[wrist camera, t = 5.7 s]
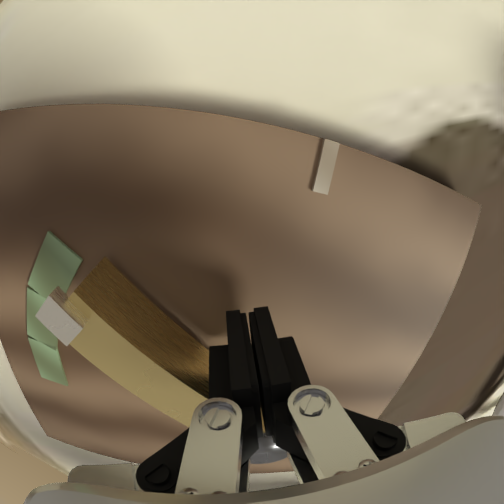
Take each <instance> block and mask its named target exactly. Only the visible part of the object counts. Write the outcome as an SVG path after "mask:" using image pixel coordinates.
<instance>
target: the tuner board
mask: <svg viewBox="0 0 504 504" xmlns="http://www.w3.org/2000/svg"><path fill="white" fill-rule="evenodd" d="M481 207H482V205H480V204H479V203H477V202H475V201H473V200H471V199H470V198H468V197H466V196H464V195H462V194H460V193H458V192H456V191H454V190H452V189H450V188H448V187H446V186H444V185H442V184H440V183H438V182H436V181H434V180H432V179H429V178H427V177H425V176H423V175H421V174H418V173H416V172H414V171H412V170H409V169H407V168H404V167H402V166H400V165H397V164H395V163H392V162H390V161H387V160H385V159H382V158H379V157H377V156H374V155H371V154H368V153H366V152H363V151H360V150H357V149H354V148H351V147H348V146H345V145H342V144H340V143H338V142H335V141H331V140H328V139H323V138H320V137H316V136H313V135H309V134H305V133H302V132H298V131H294V130H290V129H286V128H282V127H278V126H274V125H270V124H265V123H261V122H256V121H251V120H246V119H241V118H236V117H230V116H225V115H219V114H213V113H206V112H199V111H192V110H184V109H175V108H166V107H154V106H141V105H122V104H68V105H49V106H37V107H27V108H18V109H11V110H4V111H0V339H1V342H2V345H3V348H4V350H5V353H6V356H7V358H8V361H9V363H10V365H11V368H12V370H13V372H14V375H15V377H16V379H17V381H18V383H19V386H20V388H21V390H22V392H23V394H24V396H25V398H26V400H27V402H28V403H29V405H30V407H31V409H32V411H33V413H34V414H35V416H36V418H37V420H38V421H39V423H40V425H41V426H42V428H43V430H44V431H45V433H46V434H47V436H49V437H52V438H54V439H57V440H59V441H62V442H65V443H67V444H70V445H73V446H76V447H79V448H82V449H85V450H88V451H91V452H95V453H98V454H102V455H105V456H109V457H113V458H117V459H121V460H125V461H130V462H134V463H139V464H141V463H142V462H143V461H144V460H146V459H147V458H149V457H150V456H152V455H153V454H154V453H156V452H157V451H159V450H160V449H161V448H163V447H164V446H165V445H167V444H168V443H169V442H171V441H172V440H174V439H175V438H176V437H177V436H179V435H180V434H181V433H183V432H184V431H185V430H187V429H188V428H189V427H187V426H185V425H184V424H182V423H180V422H178V421H176V420H175V419H173V418H171V417H169V416H168V415H166V414H164V413H163V412H161V411H159V410H158V409H156V408H154V407H153V406H151V405H150V404H148V403H146V402H145V401H143V400H142V399H140V398H139V397H137V396H136V395H134V394H133V393H131V392H130V391H128V390H127V389H125V388H124V387H123V386H121V385H120V384H118V383H117V382H116V381H114V380H113V379H112V378H110V377H109V376H108V375H106V374H105V373H104V372H102V371H101V370H100V369H98V368H97V367H96V366H95V365H93V364H92V363H91V362H90V361H89V360H87V359H86V358H85V357H84V356H82V355H81V354H80V353H79V352H78V351H77V350H75V349H74V348H73V347H72V346H71V345H70V344H69V345H68V346H66V345H65V344H63V343H62V342H61V341H60V340H59V339H58V338H57V337H56V336H55V335H54V334H53V333H52V332H51V331H50V330H48V329H47V328H46V327H45V326H44V325H43V324H42V323H41V322H40V321H39V320H38V319H37V317H36V316H35V315H36V314H37V312H38V311H39V309H40V308H41V306H42V305H43V303H44V302H45V300H46V299H47V297H48V296H49V295H50V294H51V293H52V291H53V290H54V289H55V288H56V287H57V286H59V287H60V289H61V290H62V291H63V292H64V293H65V294H66V295H67V296H68V297H70V296H71V294H72V293H73V292H74V291H75V289H76V288H77V287H78V286H79V285H80V284H81V282H82V281H83V280H84V279H85V278H86V277H87V276H88V274H89V273H90V272H91V271H92V270H93V269H94V268H95V267H96V266H97V264H98V263H99V262H100V261H101V260H102V259H103V258H104V257H105V256H106V257H107V258H108V259H109V261H110V262H111V263H112V264H113V265H114V266H115V267H116V268H117V269H118V270H119V271H120V272H121V273H122V274H123V275H124V276H125V277H126V278H127V279H128V280H129V281H130V282H131V283H132V284H134V285H135V286H136V287H137V288H138V289H139V290H140V291H141V292H142V293H143V294H144V295H145V296H146V297H147V298H148V299H149V300H150V301H152V302H153V303H154V304H155V305H156V306H157V307H158V308H159V309H160V310H162V311H163V312H164V313H165V314H166V315H167V316H168V317H169V318H171V319H172V320H173V321H174V322H175V323H176V324H177V325H179V326H180V327H181V328H182V329H183V330H185V331H186V332H187V333H188V334H189V335H190V336H192V337H193V338H194V339H195V340H197V341H198V342H199V343H200V344H201V345H203V346H204V347H205V348H206V349H208V350H209V347H210V346H218V345H228V340H227V324H226V311H231V310H240V313H246V316H247V322H248V328H249V334H250V324H249V312H254V308H257V307H265V306H268V308H269V312H270V315H271V318H272V321H273V325H274V328H275V331H276V334H277V338H283V337H289V336H292V337H293V338H294V341H295V343H296V346H297V348H298V351H299V354H300V356H301V359H302V362H303V364H304V367H305V369H306V372H307V375H308V377H309V380H310V383H311V385H319V386H323V387H325V388H327V389H329V390H330V391H331V392H332V393H333V394H334V396H335V397H336V398H337V400H338V401H339V403H340V404H341V406H342V407H343V408H346V409H348V410H351V411H354V412H357V413H359V414H362V415H365V416H368V417H371V418H374V419H377V418H378V417H379V416H380V414H381V413H382V412H383V410H384V409H385V408H386V406H387V405H388V404H389V402H390V401H391V400H392V398H393V397H394V395H395V394H396V392H397V391H398V390H399V388H400V387H401V385H402V384H403V382H404V381H405V379H406V378H407V376H408V375H409V373H410V371H411V370H412V368H413V367H414V365H415V363H416V362H417V360H418V358H419V357H420V355H421V353H422V352H423V350H424V348H425V346H426V345H427V343H428V341H429V339H430V337H431V335H432V334H433V332H434V330H435V328H436V326H437V324H438V322H439V320H440V318H441V316H442V314H443V312H444V310H445V308H446V305H447V303H448V301H449V299H450V297H451V294H452V292H453V290H454V287H455V285H456V283H457V280H458V278H459V275H460V273H461V270H462V268H463V265H464V262H465V259H466V257H467V254H468V251H469V248H470V245H471V242H472V239H473V236H474V233H475V229H476V226H477V222H478V219H479V215H480V211H481ZM250 339H251V335H250ZM287 471H294V470H293V468H292V465H291V463H290V461H289V459H288V457H287V458H285V459H282V460H280V461H276V462H272V463H266V464H250V473H274V472H287Z"/></svg>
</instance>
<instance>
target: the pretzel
mask: <svg viewBox="0 0 504 504" xmlns="http://www.w3.org/2000/svg"><path fill="white" fill-rule="evenodd" d="M492 416H504V393H503V395H502V396H501V398H500V400H499V402H498V403H497V405H496V407H495V410H494V412H493V415H492Z"/></svg>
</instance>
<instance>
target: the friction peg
mask: <svg viewBox="0 0 504 504" xmlns="http://www.w3.org/2000/svg"><path fill="white" fill-rule="evenodd" d="M35 316H36V317H37V319H38V320H39V321H40V322H41V323H42V324H43V325H44V326H45V327H46V328H47V329H48V330H50V331H51V332H52V333H53V334H54V335H55V336H56V337H57V338H58V339H59V340H60V341H61V342H62V343H63V344H65V345H66V346H68V345H69V344H70V345H71V346H72V347H73V348H74V349H75V350H77V351H78V352H79V353H80V354H81V355H82V356H84V357H85V358H86V359H87V360H89V361H90V362H91V363H92V364H93V365H95V366H96V367H97V368H98V369H100V370H101V371H102V372H104V373H105V374H106V375H108V376H109V377H110V378H112V379H113V380H114V381H116V382H117V383H118V384H120V385H121V386H123V387H124V388H125V389H127V390H128V391H130V392H131V393H133V394H134V395H136V396H137V397H139V398H140V399H142V400H143V401H145V402H146V403H148V404H150V405H151V406H153V407H154V408H156V409H158V410H159V411H161V412H163V413H164V414H166V415H168V416H169V417H171V418H173V419H175V420H176V421H178V422H180V423H182V424H184V425H185V426H187V427H190V424H191V420H192V416H193V413H194V410H195V408H196V407H197V406H198V405H199V404H200V403H202V402H204V401H205V400H208V399H209V350H208V349H206V348H205V347H204V346H203V345H201V344H200V343H199V342H198V341H197V340H195V339H194V338H193V337H192V336H190V335H189V334H188V333H187V332H186V331H185V330H183V329H182V328H181V327H180V326H179V325H177V324H176V323H175V322H174V321H173V320H172V319H171V318H169V317H168V316H167V315H166V314H165V313H164V312H163V311H162V310H160V309H159V308H158V307H157V306H156V305H155V304H154V303H153V302H152V301H150V300H149V299H148V298H147V297H146V296H145V295H144V294H143V293H142V292H141V291H140V290H139V289H138V288H137V287H136V286H135V285H134V284H132V283H131V282H130V281H129V280H128V279H127V278H126V277H125V276H124V275H123V274H122V273H121V272H120V271H119V270H118V269H117V268H116V267H115V266H114V265H113V264H112V263H111V262H110V261H109V259H108V258H107V257H106V256H105V257H104V258H103V259H102V260H101V261H100V262H99V263H98V264H97V266H96V267H95V268H94V269H93V270H92V271H91V272H90V273H89V274H88V276H87V277H86V278H85V279H84V280H83V281H82V282H81V284H80V285H79V286H78V287H77V288H76V289H75V291H74V292H73V293H72V294H71V296H70V297H68V296H67V295H66V294H65V293H64V292H63V291H62V290H61V289H60V287H59V286H57V287H56V288H55V289H54V290H53V291H52V293H51V294H50V295H49V296H48V297H47V299H46V300H45V302H44V303H43V305H42V306H41V308H40V309H39V311H38V312H37V314H36V315H35ZM261 416H262V411H261ZM262 427H263V437H261V438H258V443H259V449H258V450H257V451H256V452H255V453H254V454H253V455H252V456H251V457H250V464H266V463H272V462H276V461H280V460H282V459H285V458H287V454H286V451H285V450H283V449H281V448H279V447H277V446H276V443H273V438H272V436H267V437H266V432H265V427H264V422H263V416H262Z"/></svg>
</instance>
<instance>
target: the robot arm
mask: <svg viewBox="0 0 504 504" xmlns="http://www.w3.org/2000/svg"><path fill="white" fill-rule="evenodd" d="M226 324H227V340H228V345H218V346H210V347H209V399H208V400H205V401H204V402H202V403H200V404H199V405H198V406H197V407H196V408H195V410H194V413H193V416H192V420H191V424H190V427H189V428H188V429H187V430H185V431H184V432H183V433H181V434H180V435H179V436H177V437H176V438H175V439H174V440H172V441H171V442H169V443H168V444H167V445H165V446H164V447H163V448H161V449H160V450H159V451H157V452H156V453H154V454H153V455H152V456H150V457H149V458H147V459H146V460H144V461H143V462H142V463H141V464H140V465H132V464H131V463H126V464H112V465H82V466H77V467H75V468H74V469H72V470H71V472H70V473H69V476H68V482H63V483H52V484H47V485H43V486H39V487H37V488H35V489H33V490H32V491H31V492H30V493H29V495H28V496H27V498H26V500H25V502H24V504H504V416H488V417H481V418H477V419H473V420H470V421H467V422H466V421H465V419H464V418H463V417H462V416H461V415H459V414H457V413H453V412H452V413H446V414H442V415H438V416H434V417H430V418H426V419H422V420H417V421H412V422H407V423H404V424H403V426H399V427H397V426H395V425H393V424H390V423H387V422H383V421H380V420H377V419H374V418H371V417H368V416H365V415H362V414H359V413H357V412H354V411H351V410H348V409H346V408H343V407H342V406H341V404H340V403H339V401H338V400H337V398H336V397H335V396H334V394H333V393H332V392H331V391H330V390H329V389H327V388H325V387H323V386H319V385H311V383H310V380H309V377H308V375H307V372H306V369H305V367H304V364H303V362H302V359H301V356H300V354H299V351H298V348H297V346H296V343H295V341H294V338H293V337H292V336H289V337H283V338H277V334H276V331H275V328H274V325H273V321H272V318H271V315H270V312H269V308H268V306H265V307H257V308H254V312H249V324H250V334H249V328H248V322H247V316H246V313H240V310H231V311H226ZM250 335H251V339H250ZM261 411H262V416H263V422H264V427H265V432H266V437H267V436H272V438H273V443H276V446H277V447H279V448H281V449H283V450H285V451H286V454H287V457H288V459H289V461H290V463H291V465H292V468H293V470H294V472H295V474H296V476H297V478H298V480H299V482H300V484H298V485H293V486H287V487H282V488H275V489H269V490H261V491H253V492H249V477H250V457H251V456H252V455H253V454H254V453H255V452H256V451H257V450H258V449H259V443H258V438H261V437H263V427H262V416H261Z"/></svg>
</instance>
